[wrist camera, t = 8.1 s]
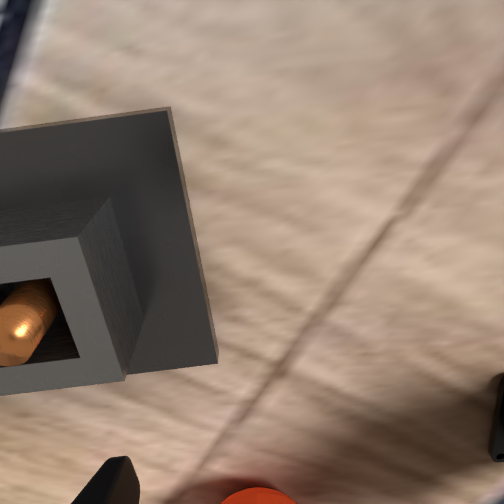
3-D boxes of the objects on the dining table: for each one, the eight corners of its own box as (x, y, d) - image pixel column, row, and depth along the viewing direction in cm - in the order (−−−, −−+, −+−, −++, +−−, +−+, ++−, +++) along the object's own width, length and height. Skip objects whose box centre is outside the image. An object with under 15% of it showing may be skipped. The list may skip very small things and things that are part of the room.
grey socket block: (218, 350, 22) (213, 449, 17) (-12, 378, 22) (-90, 485, 17) (170, 106, 17) (141, 137, 12) (-130, 146, 17) (-296, 195, 12)
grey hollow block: (144, 319, 20) (124, 380, 16) (16, 335, 20) (-31, 399, 17) (109, 196, 17) (77, 236, 14) (-38, 215, 18) (-108, 260, 14)
